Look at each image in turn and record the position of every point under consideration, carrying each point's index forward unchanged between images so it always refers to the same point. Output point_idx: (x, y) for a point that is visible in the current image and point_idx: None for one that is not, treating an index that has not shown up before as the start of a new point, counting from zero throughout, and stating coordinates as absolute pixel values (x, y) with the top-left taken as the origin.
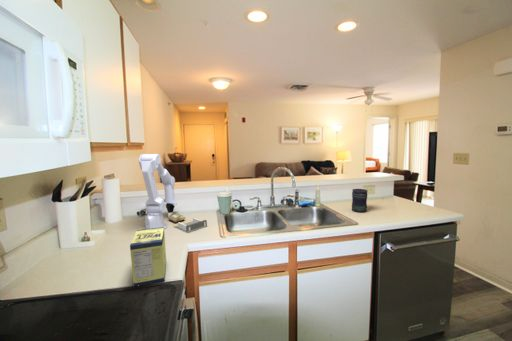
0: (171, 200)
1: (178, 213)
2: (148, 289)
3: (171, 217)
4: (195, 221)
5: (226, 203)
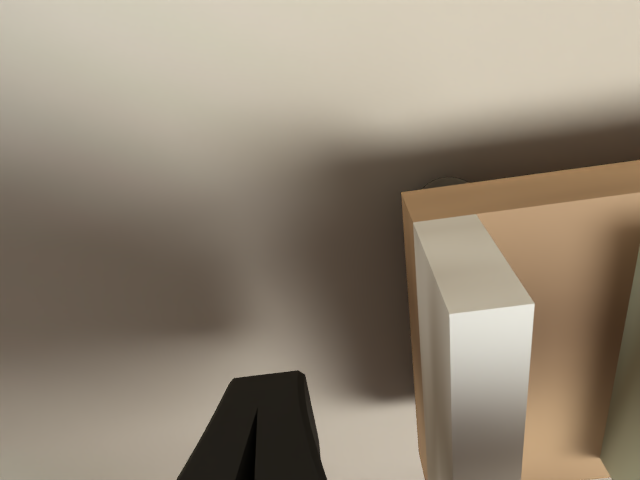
0: None
1: (491, 243)
2: None
3: (555, 453)
4: None
5: None
